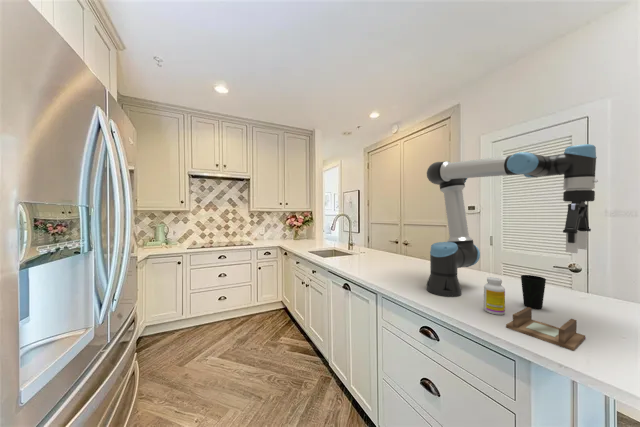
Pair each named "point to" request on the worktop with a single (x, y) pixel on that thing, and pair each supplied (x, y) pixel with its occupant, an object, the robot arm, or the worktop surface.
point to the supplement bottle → (494, 296)
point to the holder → (547, 330)
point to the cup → (533, 291)
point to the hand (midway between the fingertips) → (576, 250)
